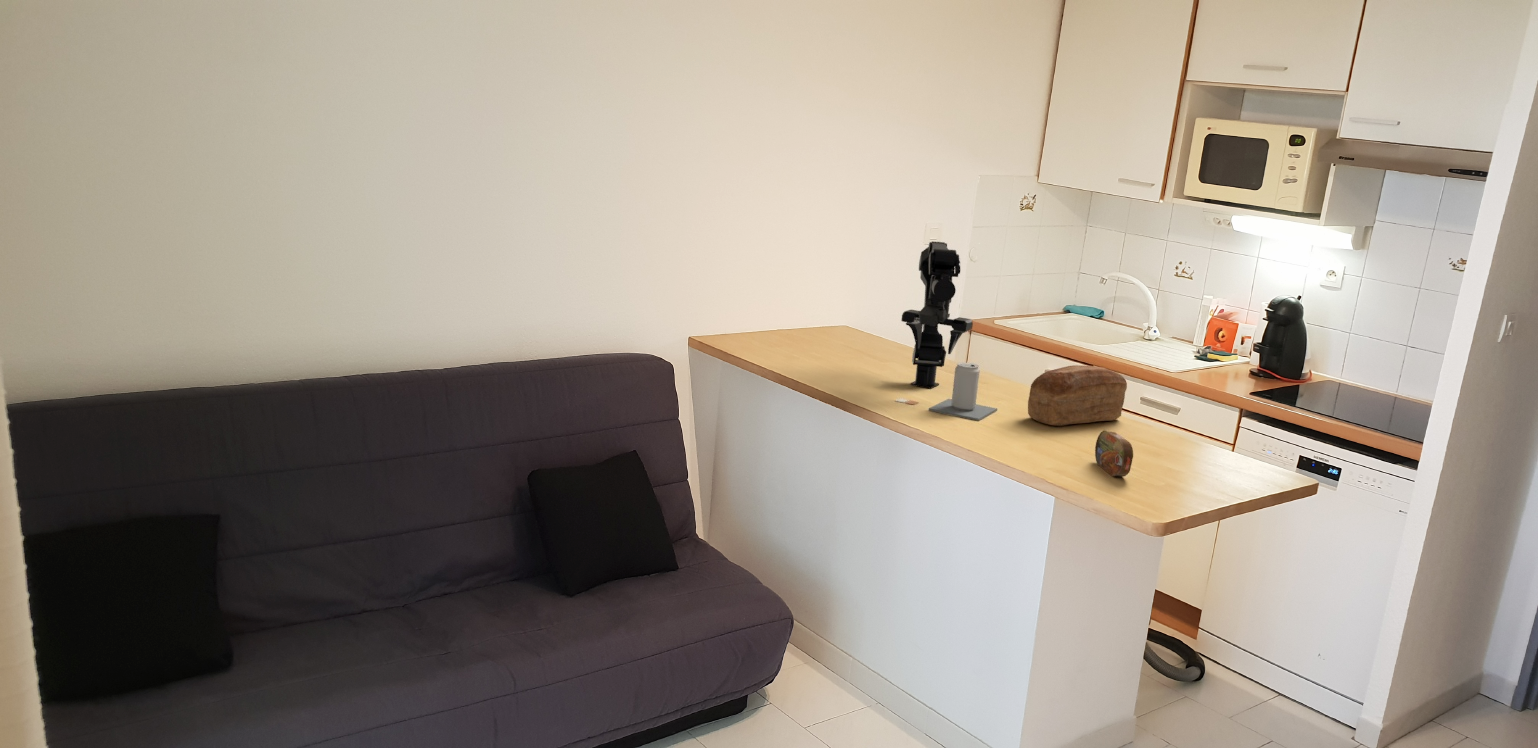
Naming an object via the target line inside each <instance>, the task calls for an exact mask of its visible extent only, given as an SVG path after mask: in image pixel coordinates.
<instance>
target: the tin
mask: <svg viewBox="0 0 1538 748" xmlns="http://www.w3.org/2000/svg"><path fill="white" fill-rule="evenodd" d="M1094 456H1095V461H1096V464H1097V466H1099V467H1100V468H1101V469H1103V470H1104V471H1105V472H1106V473H1108V474H1109V475H1110V476H1111V477H1122V478H1123V477H1126V476H1127V475H1128V474H1130V472H1131V467H1132V465H1133V464H1132V463H1133V459H1134V450H1133V446H1132V444H1131V442H1130V441H1129V440H1127V439H1126V438H1125V437H1123V436H1121V435H1120V434H1119V433H1117V432H1115V431H1109V430H1105V429H1104V430H1102V431H1101V432H1100V433H1099V434H1098V437H1097V438H1096V441H1095V448H1094Z"/></svg>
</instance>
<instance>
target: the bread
mask: <svg viewBox="0 0 1538 748" xmlns="http://www.w3.org/2000/svg"><path fill="white" fill-rule="evenodd" d="M1127 388H1128V383H1127V380H1126V379H1125V378H1124V376H1123V375H1121V374H1119V373H1118V372H1115V371H1113V370H1111V369H1109V368H1106V367H1103V366H1094V365H1078V364H1075V365H1068V366H1064V367H1059V368H1056V369H1055V368H1054V369H1051V370H1048V371H1045V372H1043V373H1041V374H1040V375H1039V376H1037V377H1036V378H1035V379H1034V380H1033V381H1032V382H1031V384H1030V389H1029V396H1028V400H1027V415H1028V416H1029V417H1030V418H1031V419H1032V420H1035V421H1037V422H1039V423H1042V424H1045V425H1049V426H1059V427H1060V426H1067V425H1073V424H1074V425H1075V424H1086V423H1087V424H1088V423H1094V422H1102V421H1103V422H1104V421H1105V422H1106V421H1115V420H1118V419H1120V417H1122V410H1123V406H1124V403H1125V398H1126V397H1125V396H1126V391H1127Z"/></svg>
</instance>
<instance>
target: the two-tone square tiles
mask: <svg viewBox="0 0 1538 748" xmlns="http://www.w3.org/2000/svg"><path fill="white" fill-rule="evenodd" d="M894 401H895V402H897V403H901V404H902V403H903V404H904V403H905V404H907V405H911V404H912V405H913V406H916V405H918V404H919V402H920V401H916V400H915V401H914V400H910V399H906V398H902V397H899V398H897V399H895V400H894Z"/></svg>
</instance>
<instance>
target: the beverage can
mask: <svg viewBox="0 0 1538 748" xmlns="http://www.w3.org/2000/svg"><path fill="white" fill-rule="evenodd" d="M956 365H957V366H955V369H954V376H953V377H954V378H953V385H952V386H953V387H952V396H951V399H952V403H951V405H952V406H953V407H954V408H955V409H957V410H962V411H971V410H973V409H974V408H975V407H976V404H977V399H978V391H979V389H978V388H979V381H980V380H979V379H980V367H979V365H978V364H976V363H973V362H958V363H956Z"/></svg>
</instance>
